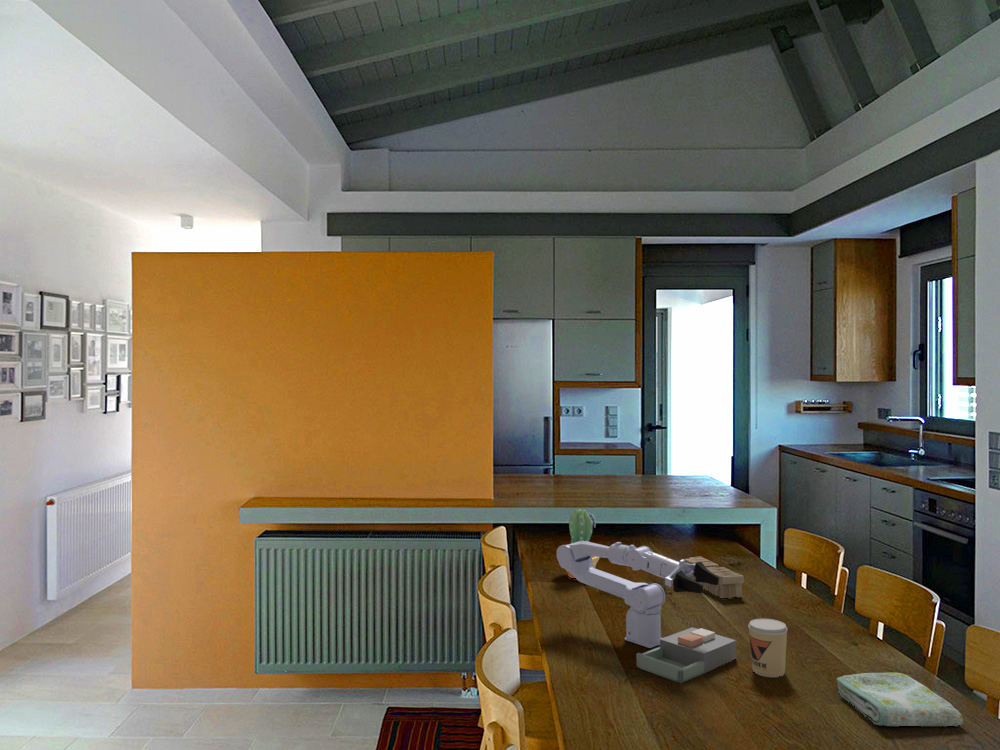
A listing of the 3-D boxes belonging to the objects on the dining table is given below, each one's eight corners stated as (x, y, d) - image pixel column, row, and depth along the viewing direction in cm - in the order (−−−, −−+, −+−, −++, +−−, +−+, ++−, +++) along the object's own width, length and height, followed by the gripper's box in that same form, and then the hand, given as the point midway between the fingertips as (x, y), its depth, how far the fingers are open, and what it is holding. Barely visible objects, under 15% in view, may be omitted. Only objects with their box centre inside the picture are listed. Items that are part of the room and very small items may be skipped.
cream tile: (690, 637, 204) (690, 632, 204) (701, 633, 206) (700, 628, 206) (704, 642, 200) (704, 636, 200) (715, 637, 203) (715, 632, 203)
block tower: (683, 581, 280) (723, 601, 252) (682, 558, 280) (722, 575, 252) (702, 579, 282) (744, 599, 254) (701, 556, 282) (743, 573, 254)
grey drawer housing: (660, 657, 203) (659, 639, 203) (692, 645, 212) (692, 627, 212) (704, 673, 192) (703, 653, 192) (736, 659, 201) (736, 640, 201)
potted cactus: (602, 581, 277) (601, 513, 277) (560, 582, 278) (559, 513, 278) (598, 570, 293) (597, 505, 293) (558, 571, 293) (556, 506, 293)
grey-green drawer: (636, 667, 197) (636, 653, 197) (660, 657, 203) (660, 644, 203) (680, 683, 186) (680, 669, 186) (704, 673, 192) (704, 659, 192)
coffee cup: (741, 667, 195) (740, 621, 195) (770, 662, 198) (769, 616, 198) (766, 681, 186) (765, 632, 186) (796, 675, 190) (795, 627, 190)
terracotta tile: (677, 642, 200) (677, 636, 200) (688, 638, 203) (688, 632, 203) (692, 647, 197) (691, 641, 197) (702, 642, 199) (702, 637, 199)
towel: (907, 689, 181) (907, 667, 181) (965, 730, 160) (964, 706, 160) (832, 691, 181) (832, 670, 181) (880, 733, 159) (879, 709, 159)
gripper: (652, 561, 204) (695, 578, 195) (682, 548, 214) (725, 563, 205) (650, 586, 206) (693, 604, 196) (680, 571, 215) (723, 588, 206)
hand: (710, 585), depth 200 cm, fingers open, 7 cm apart
